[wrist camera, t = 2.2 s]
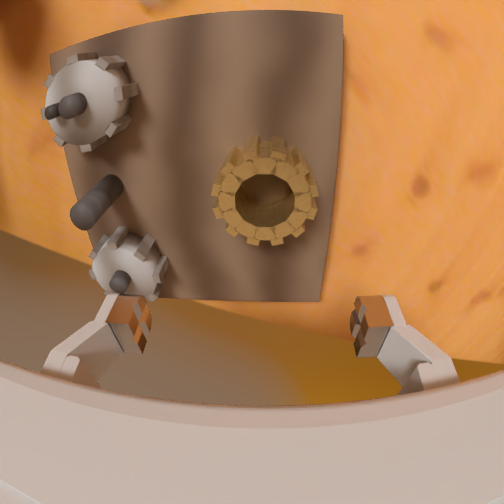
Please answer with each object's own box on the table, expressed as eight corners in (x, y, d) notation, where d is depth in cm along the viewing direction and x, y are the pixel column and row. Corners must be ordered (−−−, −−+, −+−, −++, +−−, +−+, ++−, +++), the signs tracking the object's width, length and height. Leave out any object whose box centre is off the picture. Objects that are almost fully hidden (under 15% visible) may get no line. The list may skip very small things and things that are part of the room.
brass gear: (313, 136, 19) (322, 152, 16) (308, 219, 23) (313, 246, 20) (216, 136, 19) (206, 151, 16) (223, 219, 23) (216, 245, 20)
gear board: (336, 18, 15) (366, 2, 10) (316, 287, 29) (324, 344, 24) (64, 52, 16) (6, 62, 11) (118, 281, 31) (93, 330, 25)
